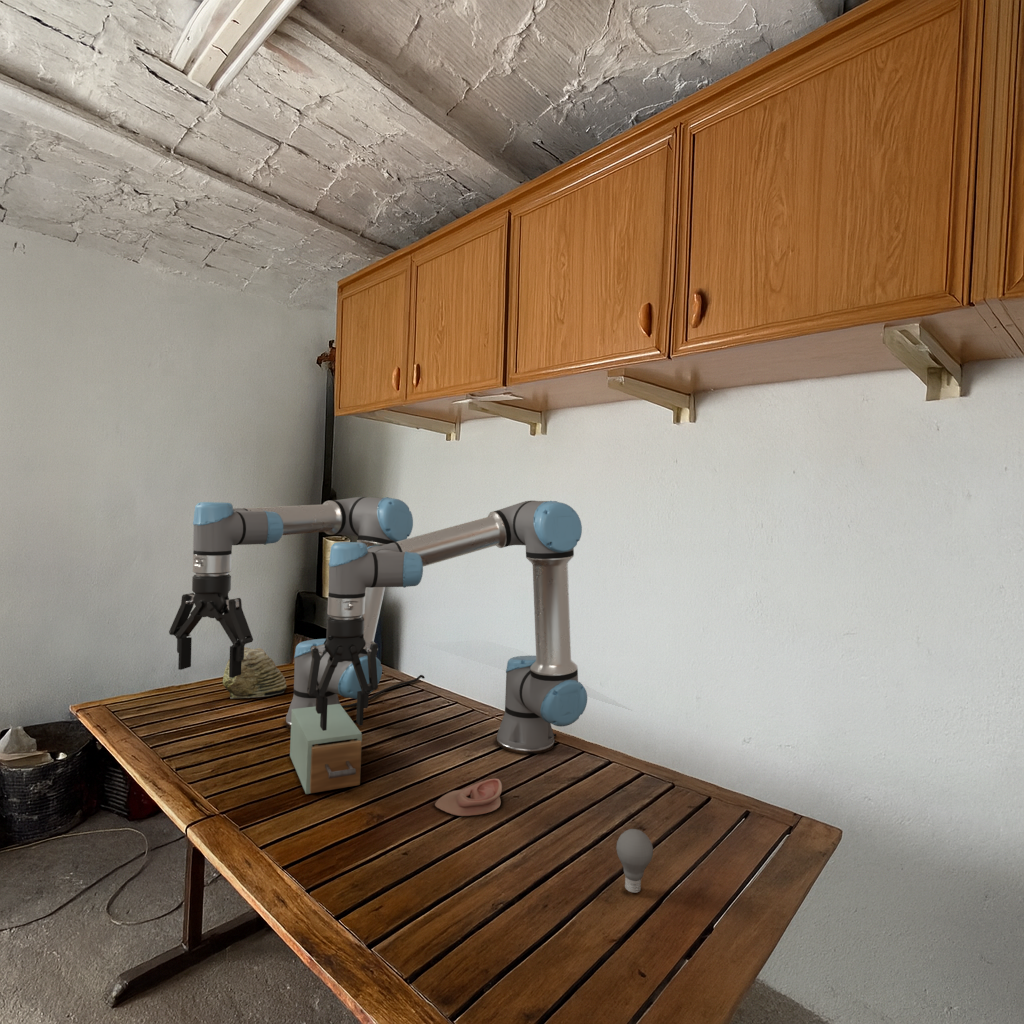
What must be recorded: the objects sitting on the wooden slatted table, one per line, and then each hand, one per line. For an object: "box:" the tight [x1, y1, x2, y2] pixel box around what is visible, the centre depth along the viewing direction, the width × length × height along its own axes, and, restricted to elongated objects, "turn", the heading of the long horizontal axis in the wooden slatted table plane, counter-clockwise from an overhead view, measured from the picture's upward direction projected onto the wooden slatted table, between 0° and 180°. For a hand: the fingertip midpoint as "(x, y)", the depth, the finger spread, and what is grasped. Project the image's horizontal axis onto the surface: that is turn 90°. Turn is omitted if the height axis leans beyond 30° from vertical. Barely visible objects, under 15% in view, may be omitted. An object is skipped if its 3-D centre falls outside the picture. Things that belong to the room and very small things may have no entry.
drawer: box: [310, 739, 363, 794], centre depth 142 cm, size 26×10×10 cm, turn 28°
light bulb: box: [615, 828, 654, 894], centre depth 106 cm, size 6×6×10 cm
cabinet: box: [289, 703, 363, 795], centre depth 147 cm, size 22×12×12 cm, turn 28°
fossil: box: [222, 646, 288, 699], centre depth 198 cm, size 9×18×15 cm, turn 132°
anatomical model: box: [434, 778, 503, 817], centre depth 133 cm, size 13×4×12 cm
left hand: (209, 672), depth 137 cm, fingers open, 13 cm apart
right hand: (341, 725), depth 132 cm, fingers open, 7 cm apart
